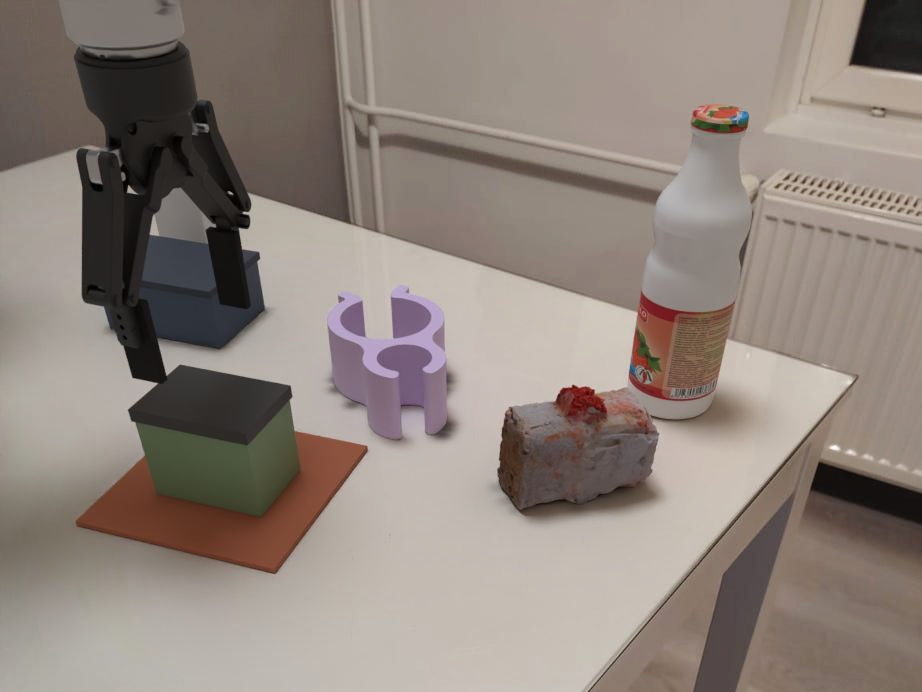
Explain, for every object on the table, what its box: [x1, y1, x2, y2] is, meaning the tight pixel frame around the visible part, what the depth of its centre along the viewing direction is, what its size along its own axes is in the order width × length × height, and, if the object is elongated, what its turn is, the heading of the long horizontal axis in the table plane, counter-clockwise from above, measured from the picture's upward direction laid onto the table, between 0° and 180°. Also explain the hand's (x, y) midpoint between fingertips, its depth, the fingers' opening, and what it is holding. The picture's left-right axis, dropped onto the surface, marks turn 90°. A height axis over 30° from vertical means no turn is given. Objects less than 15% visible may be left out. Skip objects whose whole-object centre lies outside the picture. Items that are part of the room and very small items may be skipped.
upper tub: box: [127, 364, 301, 517], centre depth 82 cm, size 11×8×9 cm
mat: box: [74, 430, 369, 574], centre depth 86 cm, size 20×20×1 cm
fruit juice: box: [626, 103, 753, 420], centre depth 88 cm, size 9×9×28 cm
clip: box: [326, 284, 448, 441], centre depth 96 cm, size 20×12×7 cm, turn 16°
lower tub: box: [103, 234, 266, 349], centre depth 107 cm, size 16×12×7 cm
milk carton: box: [153, 187, 231, 244], centre depth 114 cm, size 7×7×19 cm
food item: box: [496, 384, 660, 511], centre depth 83 cm, size 14×8×10 cm, turn 110°
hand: (195, 340), depth 75 cm, fingers open, 13 cm apart
